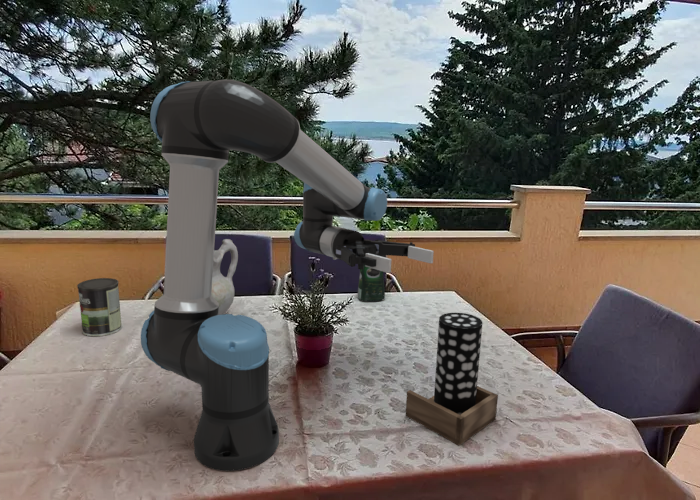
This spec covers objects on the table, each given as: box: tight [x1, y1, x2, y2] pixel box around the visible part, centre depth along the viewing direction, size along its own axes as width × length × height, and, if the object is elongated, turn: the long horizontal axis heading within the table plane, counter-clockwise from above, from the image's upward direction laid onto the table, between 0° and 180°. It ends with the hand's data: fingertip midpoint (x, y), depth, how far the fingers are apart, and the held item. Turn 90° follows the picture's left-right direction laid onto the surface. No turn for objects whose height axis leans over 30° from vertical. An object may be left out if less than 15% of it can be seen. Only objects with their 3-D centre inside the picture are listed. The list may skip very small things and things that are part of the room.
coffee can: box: [76, 277, 123, 338], centre depth 135 cm, size 10×10×14 cm
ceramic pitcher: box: [211, 238, 239, 315], centre depth 143 cm, size 22×20×25 cm
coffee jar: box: [357, 251, 386, 302], centre depth 167 cm, size 10×8×19 cm
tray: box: [405, 385, 499, 446], centre depth 96 cm, size 13×13×6 cm
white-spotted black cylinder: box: [433, 312, 483, 415], centre depth 95 cm, size 8×8×20 cm
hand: (412, 261), depth 98 cm, fingers open, 13 cm apart
